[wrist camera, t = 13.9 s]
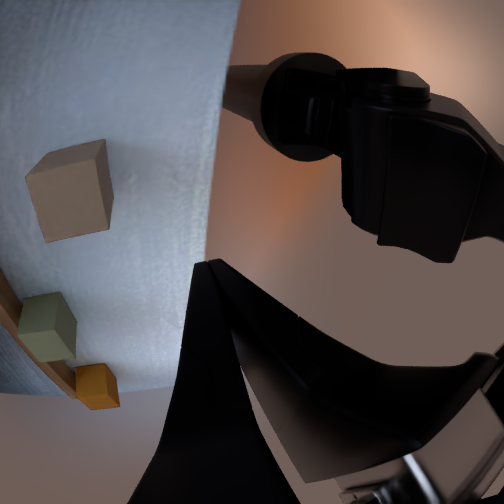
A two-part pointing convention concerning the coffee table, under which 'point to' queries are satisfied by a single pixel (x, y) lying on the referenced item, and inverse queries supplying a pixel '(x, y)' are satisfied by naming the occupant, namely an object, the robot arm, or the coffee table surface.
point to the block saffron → (97, 387)
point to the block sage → (48, 328)
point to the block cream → (72, 191)
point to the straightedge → (8, 313)
